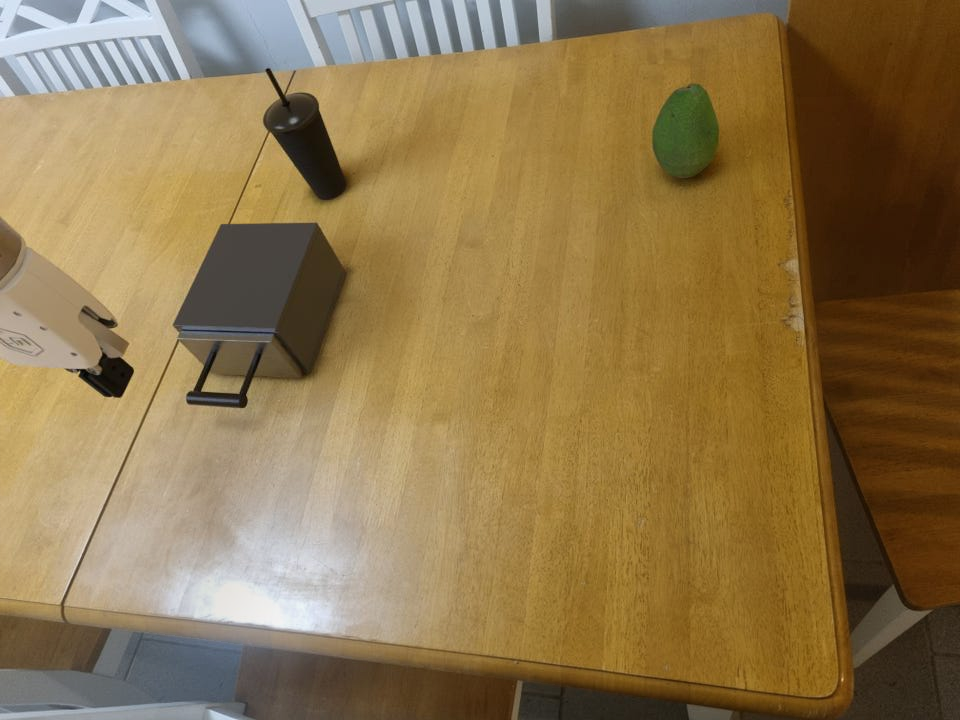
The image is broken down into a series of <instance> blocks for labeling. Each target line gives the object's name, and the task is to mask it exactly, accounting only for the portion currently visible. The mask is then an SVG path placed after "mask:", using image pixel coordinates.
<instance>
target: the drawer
mask: <svg viewBox="0 0 960 720" xmlns="http://www.w3.org/2000/svg"><path fill="white" fill-rule="evenodd" d="M176 340H177V341H178V342H179V343H180V344H181V345H182V346H183V347H184V348H185V349H187V351H189V352H190V354H192V355H193V356H194V357H195V358H196V359H197V361H199V362H200V364H201V365H203V367H202V370H201V372H200V374H199V376H198V378H197V381H196V383H195V386H194V388H193V390H189V391H188V392H187V393H186V396H185V401H186V403H187V405H189V406H201V407H218V408H230V409H231V408H232V409H245V408H246V407H247V406H248V403H249V398H248V395H247V394H248V391H249V389H250V387H251V384H252V381H253V379H254V377H269V378H271V377H274V378H290V379H301V378H302V375H303V373H302V372H303V369H302V367H301V366H300V365H299V364H298V362H297V361H296V360H295V359H294V357H293V356H292V355H291V354H290V352H289V351H288V350H287V349H286V347H285V346H284V345H283V344H282V342H281V341H280V340H279V339H278V337H277V336H276V335H275V334H274V333H250V332H247V331H217V330H199V331H188V330H181V331H180V333H179V332H178V335H177V337H176ZM210 373H211V374H212V375H213V374H214V375H232V376H233V375H235V376H245V378H244V380H243V383H242V384H241V388H240V390H239V393H236V392H235V393H233V392H220V391H219V392H217V391H202V390H203V388H204V385H205V383H206V381H207V378H208V376H209V374H210Z"/></svg>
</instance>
